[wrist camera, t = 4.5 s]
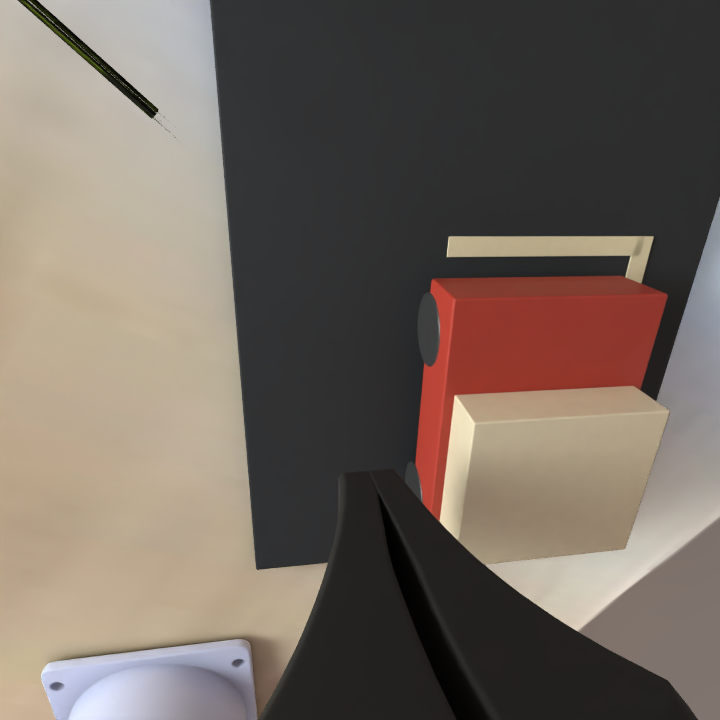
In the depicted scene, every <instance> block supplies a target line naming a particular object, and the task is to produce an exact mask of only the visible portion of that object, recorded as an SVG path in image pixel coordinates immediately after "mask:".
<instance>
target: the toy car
mask: <svg viewBox="0 0 720 720" xmlns="http://www.w3.org/2000/svg"><path fill="white" fill-rule="evenodd" d="M667 298H668V295H667V294H666V293H663V292H661V291H658V290H656V289H653V288H651V287H648V286H646V285H643V284H641V283H639V282H636V281H634V280H631V279H629V278H626V277H624V276H567V277H499V278H434V279H432V281H431V292H427V293H426V294H424V296H423V298H422V300H421V303H420V307H419V312H418V342H419V348H420V353H421V356H422V359H423V361H424V372H423V383H422V394H421V406H420V417H419V428H418V440H417V451H416V460H415V461H410V462H409V463H408V464H407V468H406V474H405V483H406V484H407V485H408V486H409V488H410V489H411V490H412V491H413V492H414V494H415V495H416V496H417V497H418V498H419V499H420V501H421V502H422V503H423V504H424V505H425V506H426V508H427V509H428V510H429V511H430V512H431V513H432V514H433V515H434V516H435V517H436V518H437V519H438V521H439V522H440V523H441V524H442V525H443V526H444V527H445V528H446V529H447V530H448V531H449V532H450V533H451V534H452V535H453V536H454V537H455V538H456V539H457V540H458V541H459V542H460V543H461V544H462V545H463V546H464V547H465V548H466V549H467V550H468V551H469V552H471V553H472V554H473V555H474V556H475V557H476V558H477V559H478V560H479V561H480V562H482V563H483V564H491V563H501V562H510V561H519V560H529V559H538V558H547V557H557V556H566V555H575V554H585V553H594V552H603V551H613V550H622V549H625V548H626V545H627V542H628V539H629V536H630V533H631V530H632V527H633V524H634V521H635V518H636V515H637V512H638V508H639V505H640V502H641V499H642V496H643V493H644V490H645V487H646V484H647V481H648V478H649V475H650V472H651V469H652V466H653V463H654V460H655V457H656V454H657V451H658V448H659V445H660V442H661V438H662V435H663V432H664V429H665V426H666V423H667V420H668V417H669V414H670V411H669V410H668V409H666V408H665V407H663V406H662V405H661V404H659V403H658V402H656V401H655V400H653V399H652V398H651V397H649V396H648V395H646V394H645V393H643V392H642V391H640V389H641V386H642V383H643V379H644V376H645V372H646V369H647V366H648V362H649V359H650V355H651V352H652V349H653V345H654V342H655V338H656V335H657V332H658V328H659V325H660V321H661V318H662V315H663V311H664V308H665V304H666V301H667Z"/></svg>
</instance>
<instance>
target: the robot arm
mask: <svg viewBox="0 0 720 720" xmlns="http://www.w3.org/2000/svg"><path fill="white" fill-rule="evenodd" d="M41 680H42V683H43V686H44V688H45V691H46V694H47V696H48V699H49V702H50V704H51V707H52V710H53V712H54V715H55V718H56V720H698V719H697V718H696V716H695V715H694V713H693V712H692V711H691V709H690V708H689V706H688V705H687V704H686V703H685V701H684V700H683V699H682V698H681V696H680V695H679V694H678V693H677V691H676V690H675V689H674V688H673V686H672V685H671V684H670V683H669V682H668V681H667V680H666V679H664V678H662V677H660V676H658V675H656V674H654V673H652V672H650V671H648V670H646V669H644V668H643V667H641V666H639V665H637V664H635V663H633V662H631V661H629V660H627V659H625V658H623V657H621V656H619V655H617V654H616V653H613V652H612V651H609V650H608V649H606V648H604V647H603V646H601V645H599V644H598V643H596V642H594V641H592V640H591V639H589V638H587V637H586V636H584V635H582V634H581V633H579V632H577V631H576V630H574V629H572V628H571V627H569V626H567V625H566V624H564V623H563V622H561V621H560V620H558V619H556V618H555V617H553V616H552V615H550V614H549V613H548V612H546V611H545V610H543V609H542V608H540V607H539V606H537V605H536V604H534V603H533V602H532V601H530V600H529V599H527V598H526V597H524V596H523V595H522V594H520V593H519V592H517V591H516V590H515V589H513V588H512V587H511V586H509V585H508V584H507V583H506V582H504V581H503V580H502V579H501V578H499V577H498V576H497V575H496V574H495V573H493V572H492V571H491V570H490V569H488V568H487V567H486V566H485V565H484V564H483V563H482V562H480V561H479V560H478V559H477V558H476V557H475V556H474V555H473V554H472V553H471V552H469V551H468V550H467V549H466V548H465V547H464V546H463V545H462V544H461V543H460V542H459V541H458V540H457V539H456V538H455V537H454V536H453V535H452V534H451V533H450V532H449V531H448V530H447V529H446V528H445V527H444V526H443V525H442V524H441V523H440V522H439V521H438V519H437V518H436V517H435V516H434V515H433V514H432V513H431V512H430V511H429V510H428V509H427V508H426V506H425V505H424V504H423V503H422V502H421V501H420V499H419V498H418V497H417V496H416V495H415V494H414V492H413V491H412V490H411V489H410V488H409V486H408V485H407V484H406V483H405V481H404V480H403V479H402V478H401V477H400V475H399V474H398V473H397V472H396V471H395V470H394V469H385V470H372V471H359V472H346V473H342V474H341V475H340V476H339V477H338V521H337V527H336V532H335V537H334V542H333V546H332V549H331V553H330V557H329V561H328V564H327V568H326V571H325V575H324V578H323V581H322V584H321V587H320V590H319V593H318V595H317V598H316V601H315V604H314V606H313V609H312V611H311V614H310V616H309V619H308V621H307V624H306V626H305V629H304V631H303V633H302V636H301V638H300V640H299V642H298V645H297V647H296V649H295V651H294V653H293V655H292V657H291V659H290V661H289V663H288V665H287V667H286V669H285V671H284V673H283V675H282V677H281V679H280V681H279V683H278V685H277V687H276V689H275V691H274V693H273V695H272V696H271V698H270V700H269V702H268V703H267V705H266V707H265V709H264V710H263V712H262V714H261V716H260V717H259V719H258V716H257V706H256V696H255V685H254V675H253V664H252V654H251V645H250V643H249V642H248V641H247V640H244V639H233V640H225V641H217V642H208V643H200V644H192V645H184V646H176V647H167V648H159V649H151V650H143V651H134V652H126V653H118V654H110V655H102V656H93V657H85V658H77V659H69V660H60V661H54V662H51V663H49V664H47V665H46V666H45V668H44V670H43V672H42V674H41Z"/></svg>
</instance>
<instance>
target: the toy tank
mask: <svg viewBox="0 0 720 720" xmlns="http://www.w3.org/2000/svg"><path fill="white" fill-rule="evenodd" d="M18 1H19V2H20V3H21V4H23V5H24V6H25V7H26V8H27V9H28V10H29V11H30V12H32V13H33V14H34V15H35V16H36V17H37V18H38V19H40V20H41V21H42V22H43V23H44V24H45V25H46V26H47V27H49V28H50V29H51V30H52V31H53V32H54V33H55V34H56V35H58V36H59V37H60V38H61V39H62V40H63V41H64V42H66V43H67V44H68V45H69V46H70V47H71V48H72V49H73V50H75V51H76V52H77V53H78V54H79V55H80V56H81V57H82V58H84V59H85V60H86V61H87V62H88V63H89V64H90V65H92V66H93V67H94V68H95V69H96V70H97V71H98V72H99V73H101V74H102V75H103V76H104V77H105V78H106V79H107V80H108V81H110V82H111V83H112V84H113V85H114V86H115V87H116V88H118V89H119V90H120V91H121V92H122V93H123V94H124V95H125V96H127V97H128V98H129V99H130V100H131V101H132V102H133V103H134V104H136V105H137V106H138V107H139V108H140V109H141V110H142V111H144V112H145V113H146V114H147V115H148V116H149V117H150V118H151V119H152V118H153V117H154V116H155V115H156V114H157V113H156V112H158V110H159V109H157V108H156V107H155V106H154V105H153V104H152V103H151V102H150V101H148V100H147V99H146V98H145V97H144V96H143V95H142V94H141V93H140V92H138V91H137V90H136V89H135V88H134V87H133V86H132V85H131V84H130V83H128V82H127V81H126V80H125V79H124V78H123V77H122V76H121V75H120V74H118V73H117V72H116V71H115V70H114V69H113V68H112V67H111V66H110V65H108V64H107V63H106V62H105V61H104V60H103V59H102V58H101V57H99V56H98V55H97V54H96V53H95V52H94V51H93V50H92V49H91V48H89V47H88V46H87V45H86V44H85V43H84V42H83V41H82V40H81V39H79V38H78V37H77V36H76V35H75V34H74V33H73V32H72V31H71V30H69V29H68V28H67V27H66V26H65V25H64V24H63V23H62V22H60V21H59V20H58V19H57V18H56V17H55V16H54V15H53V14H52V13H50V12H49V11H48V10H47V9H46V8H45V7H44V6H43V5H42V4H40V3H39V2H38V1H37V0H28V1H27V0H24V1H23V0H18ZM30 1H31V2H32V3H33V4H34V5H35V6H36V7H37V9H36V8H35V7H34V6H33V4H32V3H30ZM39 10H41V11H42V12H43V13H44V14H45V15H46V17H45V16H44V15H43V14H42V12H41V11H39ZM48 18H49V19H51V20H52V21H53V22H54V23H55V24H53V23H52V21H51V20H49V19H48ZM57 26H58V27H59V28H58V27H57ZM60 28H61V29H62V30H63V31H64V32H62V31H61V29H60ZM66 34H67V35H68V36H67V35H66ZM71 36H72V37H71ZM70 37H71V38H72V39H73V40H74V41H73V40H71V38H70ZM75 39H76V40H75ZM75 42H76V43H77V44H78V45H77V44H76V43H75ZM81 45H82V46H81ZM80 46H81V47H82V48H83V49H82V48H81V47H80ZM84 50H85V51H86V52H87V53H86V52H85V51H84ZM90 53H91V54H90ZM90 55H91V56H92V57H91V56H90ZM93 58H94V59H95V58H96V59H95V60H96V61H95V60H94V59H93ZM100 62H101V63H100ZM100 64H101V65H100ZM102 66H103V67H104V66H105V67H104V68H105V69H106V70H105V69H104V68H103V67H102ZM109 70H110V71H111V72H110V71H109ZM111 74H112V75H113V74H114V75H115V76H114V75H113V76H114V77H115V78H114V77H113V76H112V75H111ZM119 79H120V80H121V81H120V80H119ZM122 82H123V83H124V84H125V85H124V84H123V83H122ZM121 83H122V84H123V85H124V86H123V85H122V84H121ZM128 87H129V88H130V89H131V90H132V91H133V92H134V93H133V92H132V91H131V90H130V89H129V88H128ZM131 92H132V93H131ZM138 96H139V97H140V98H141V99H142V100H143V101H144V102H143V101H142V100H141V99H140V98H139V97H138ZM147 104H148V105H149V106H150V107H151V108H152V109H153V110H154V111H153V110H152V109H151V108H150V107H149V106H148V105H147ZM160 116H161V115H160ZM164 118H165V117H164ZM156 121H157V120H156ZM157 122H158V123H159V121H157ZM161 122H162V121H161ZM159 124H160V123H159ZM174 127H175V126H174ZM166 130H167V131H168V129H166ZM175 138H176V137H175Z"/></svg>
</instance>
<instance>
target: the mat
mask: <svg viewBox="0 0 720 720" xmlns="http://www.w3.org/2000/svg"><path fill="white" fill-rule="evenodd" d="M210 6H211V18H212V31H213V43H214V55H215V68H216V80H217V92H218V105H219V117H220V129H221V141H222V154H223V166H224V178H225V191H226V203H227V215H228V228H229V240H230V252H231V264H232V277H233V289H234V301H235V314H236V326H237V338H238V351H239V363H240V375H241V387H242V400H243V412H244V424H245V437H246V449H247V461H248V474H249V486H250V498H251V510H252V523H253V535H254V547H255V560H256V569H257V570H259V569H269V568H279V567H289V566H299V565H309V564H318V563H328V561H329V557H330V553H331V549H332V546H333V542H334V537H335V532H336V527H337V521H338V477H339V476H340V475H341V474H342V473H346V472H359V471H372V470H385V469H394V470H395V471H396V472H397V473H398V474H399V475H400V477H401V478H402V479H403V480H404V481H405V474H406V468H407V464H408V463H409V462H410V461H415V460H416V451H417V440H418V428H419V417H420V406H421V394H422V383H423V372H424V361H423V359H422V356H421V353H420V348H419V342H418V312H419V307H420V303H421V300H422V298H423V296H424V294H426V293H427V292H431V281H432V279H434V278H499V277H567V276H624V277H626V278H629V279H631V280H634V281H636V282H639V283H641V284H643V285H646V286H648V287H651V288H653V289H656V290H658V291H661V292H663V293H666V294H667V295H668V298H667V301H666V304H665V308H664V311H663V315H662V318H661V321H660V325H659V328H658V332H657V335H656V338H655V342H654V345H653V349H652V352H651V355H650V359H649V362H648V366H647V369H646V372H645V376H644V379H643V383H642V386H641V389H640V391H642V392H643V393H645V394H646V395H648V396H649V397H651V398H652V399H653V400H655V401H656V400H657V396H658V393H659V390H660V387H661V384H662V380H663V377H664V374H665V371H666V368H667V364H668V361H669V358H670V355H671V352H672V348H673V345H674V342H675V339H676V336H677V332H678V329H679V326H680V323H681V320H682V316H683V313H684V310H685V307H686V303H687V300H688V297H689V294H690V291H691V287H692V284H693V281H694V278H695V275H696V271H697V268H698V265H699V262H700V259H701V255H702V252H703V249H704V246H705V243H706V239H707V236H708V233H709V230H710V227H711V223H712V220H713V217H714V214H715V211H716V207H717V204H718V201H719V198H720V0H210Z"/></svg>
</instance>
